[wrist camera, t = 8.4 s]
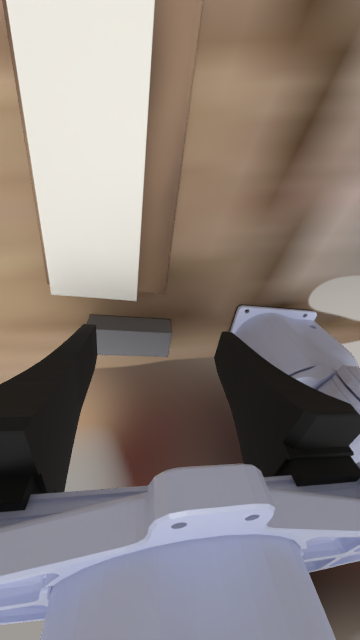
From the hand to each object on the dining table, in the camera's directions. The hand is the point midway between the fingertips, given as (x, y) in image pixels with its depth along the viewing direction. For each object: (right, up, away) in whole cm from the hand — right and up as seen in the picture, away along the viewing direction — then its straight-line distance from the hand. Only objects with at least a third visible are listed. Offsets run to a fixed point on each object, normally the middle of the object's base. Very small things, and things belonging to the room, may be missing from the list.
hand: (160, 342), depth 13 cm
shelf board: (-3, +10, -1) cm, 10 cm away
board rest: (-4, 0, +11) cm, 12 cm away
